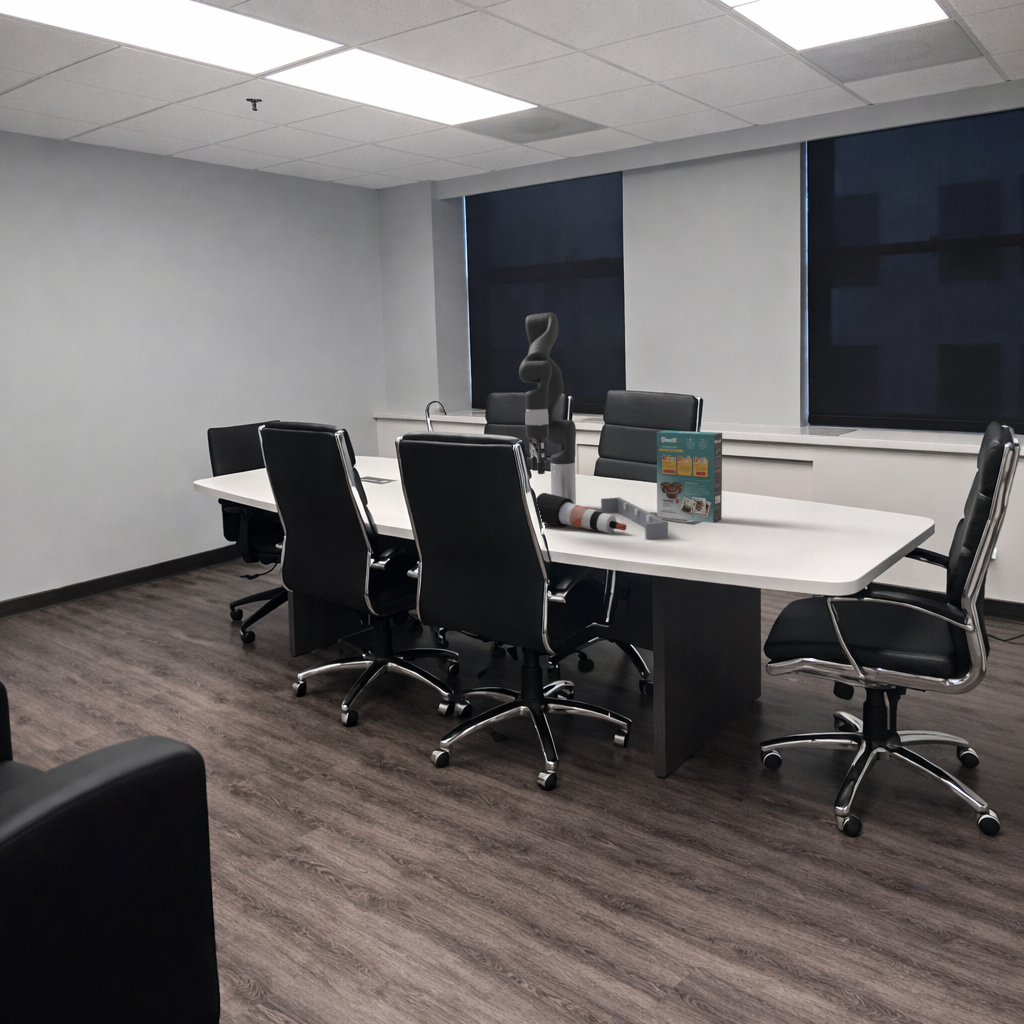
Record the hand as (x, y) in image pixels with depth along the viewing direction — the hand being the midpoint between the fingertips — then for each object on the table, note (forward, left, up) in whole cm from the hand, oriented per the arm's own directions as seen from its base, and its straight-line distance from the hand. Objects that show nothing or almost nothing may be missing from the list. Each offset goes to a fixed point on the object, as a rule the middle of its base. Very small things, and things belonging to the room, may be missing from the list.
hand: (538, 472), depth 303 cm
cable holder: (-2, +33, -20) cm, 39 cm away
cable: (0, +15, -21) cm, 25 cm away
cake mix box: (-5, +55, -20) cm, 59 cm away
